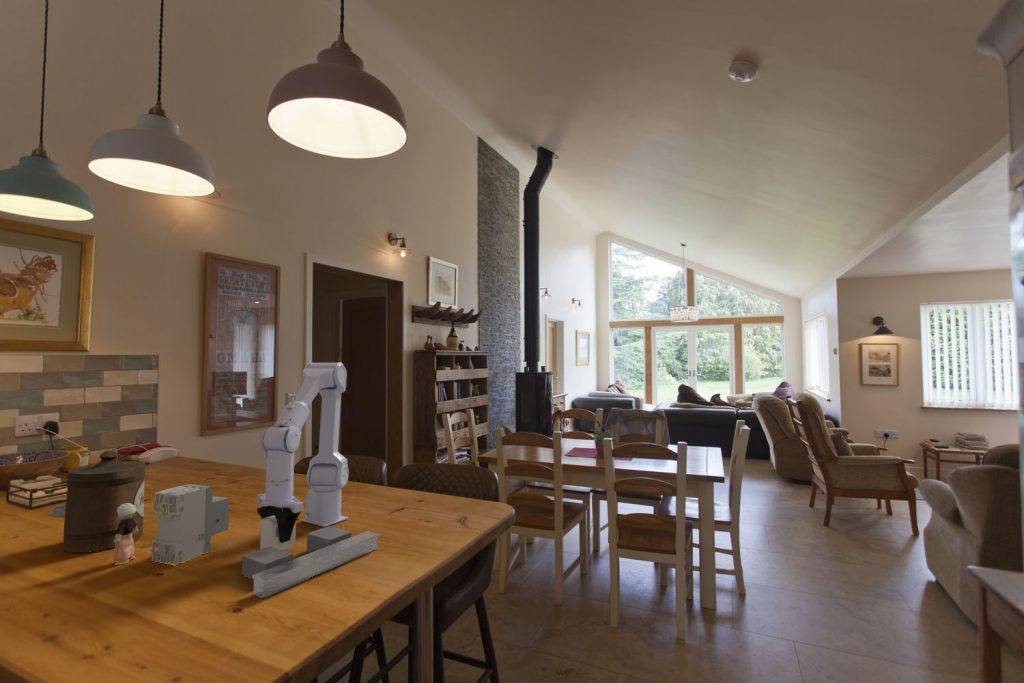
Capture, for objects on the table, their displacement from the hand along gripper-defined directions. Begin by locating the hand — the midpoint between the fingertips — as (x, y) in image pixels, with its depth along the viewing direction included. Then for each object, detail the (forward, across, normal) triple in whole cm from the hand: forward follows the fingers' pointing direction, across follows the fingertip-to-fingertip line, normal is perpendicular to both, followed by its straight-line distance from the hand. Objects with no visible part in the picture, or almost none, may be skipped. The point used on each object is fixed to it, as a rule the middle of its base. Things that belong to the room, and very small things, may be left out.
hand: (278, 539), depth 108 cm
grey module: (+2, 0, 0) cm, 2 cm away
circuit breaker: (+4, -18, -9) cm, 20 cm away
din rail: (+3, +16, 0) cm, 16 cm away
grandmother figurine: (+3, -25, -20) cm, 32 cm away
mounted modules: (+3, +8, 0) cm, 9 cm away
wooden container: (+4, -44, -17) cm, 47 cm away
